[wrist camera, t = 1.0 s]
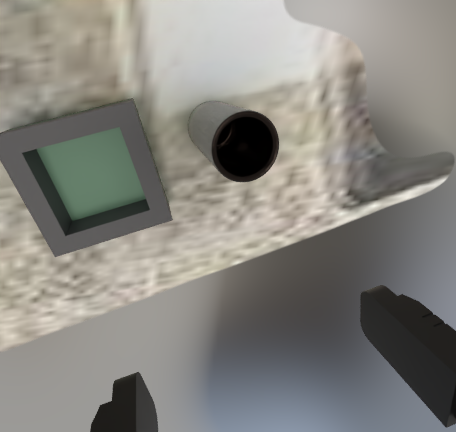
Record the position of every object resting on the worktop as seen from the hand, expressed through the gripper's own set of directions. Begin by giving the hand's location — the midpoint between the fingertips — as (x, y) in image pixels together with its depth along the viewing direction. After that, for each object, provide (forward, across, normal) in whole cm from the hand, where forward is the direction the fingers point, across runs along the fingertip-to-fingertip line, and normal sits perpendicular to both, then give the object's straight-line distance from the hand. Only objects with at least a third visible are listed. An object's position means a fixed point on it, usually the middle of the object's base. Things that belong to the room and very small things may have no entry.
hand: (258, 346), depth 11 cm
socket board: (+22, +7, -2) cm, 23 cm away
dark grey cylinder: (+22, -4, -4) cm, 22 cm away
